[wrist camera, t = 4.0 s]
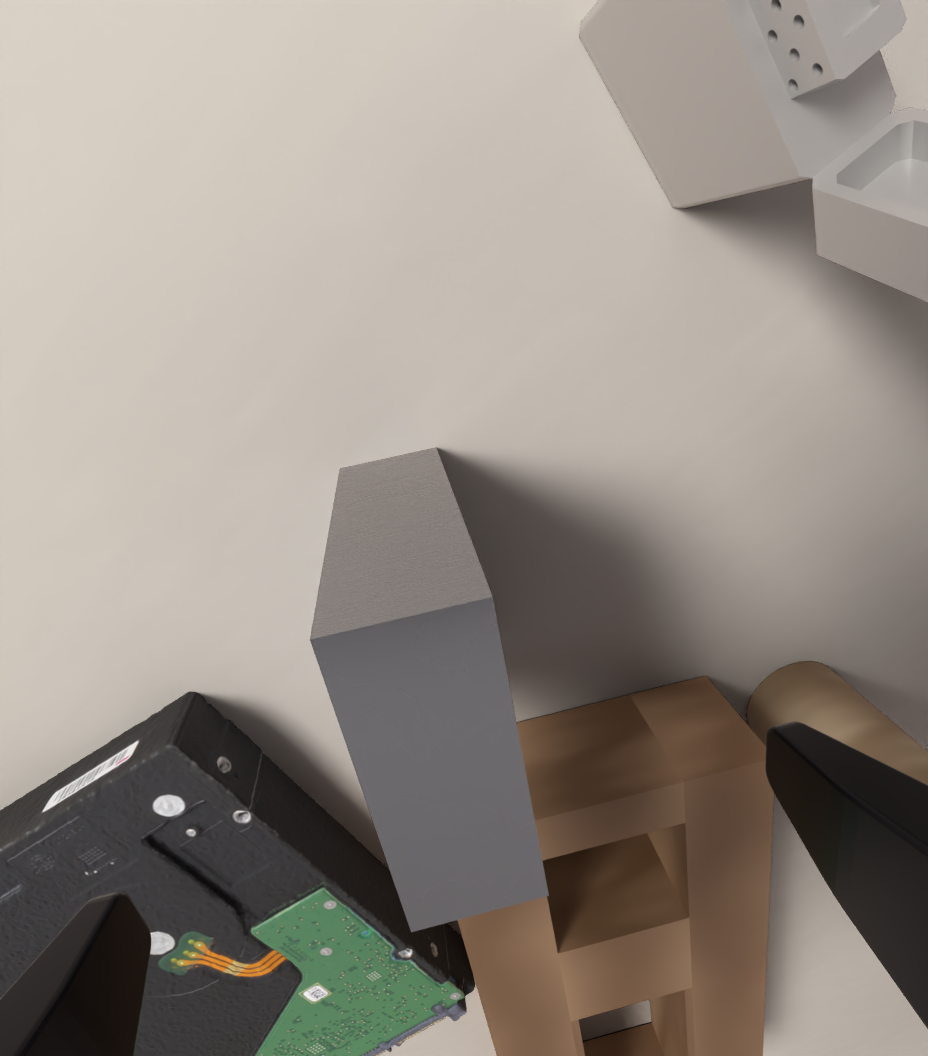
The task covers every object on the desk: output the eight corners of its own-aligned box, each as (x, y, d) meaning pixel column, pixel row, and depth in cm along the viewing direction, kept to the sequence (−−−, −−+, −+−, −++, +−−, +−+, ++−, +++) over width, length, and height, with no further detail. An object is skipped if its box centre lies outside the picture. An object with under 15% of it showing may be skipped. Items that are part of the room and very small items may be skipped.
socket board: (706, 675, 19) (775, 758, 15) (712, 1018, 26) (759, 1121, 23) (424, 745, 18) (435, 846, 15) (514, 1075, 26) (535, 1187, 22)
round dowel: (842, 651, 19) (1032, 801, 14) (834, 727, 20) (1005, 893, 15) (747, 674, 19) (902, 837, 13) (746, 749, 20) (886, 926, 15)
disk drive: (-78, 851, 18) (255, 1055, 23) (-155, 946, 15) (240, 1150, 21) (197, 670, 17) (475, 929, 22) (165, 740, 14) (488, 1013, 20)
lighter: (574, 27, 12) (913, -394, 4) (645, -40, 11) (1133, -604, 4) (735, 322, 14) (1111, 365, 7) (796, 273, 14) (1250, 266, 7)
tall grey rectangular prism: (435, 447, 15) (492, 596, 8) (477, 647, 17) (548, 895, 10) (339, 468, 14) (309, 639, 8) (395, 666, 17) (411, 931, 10)
